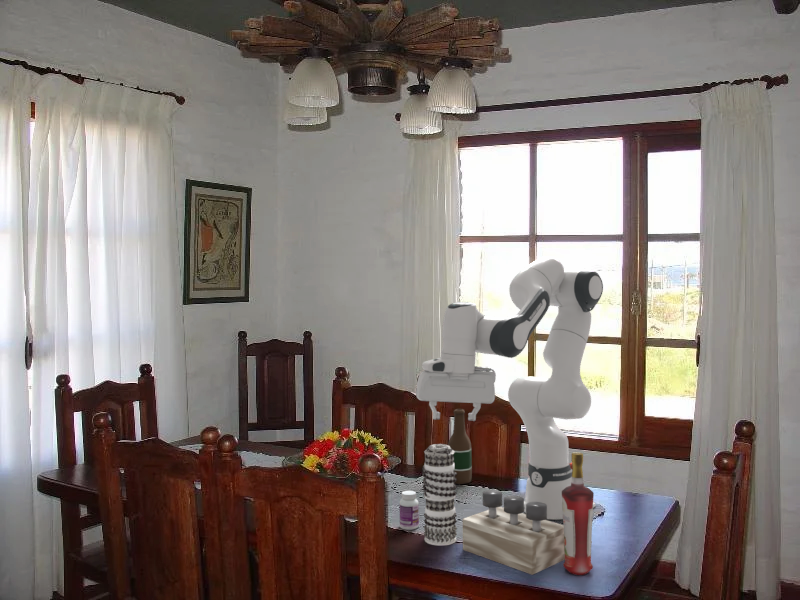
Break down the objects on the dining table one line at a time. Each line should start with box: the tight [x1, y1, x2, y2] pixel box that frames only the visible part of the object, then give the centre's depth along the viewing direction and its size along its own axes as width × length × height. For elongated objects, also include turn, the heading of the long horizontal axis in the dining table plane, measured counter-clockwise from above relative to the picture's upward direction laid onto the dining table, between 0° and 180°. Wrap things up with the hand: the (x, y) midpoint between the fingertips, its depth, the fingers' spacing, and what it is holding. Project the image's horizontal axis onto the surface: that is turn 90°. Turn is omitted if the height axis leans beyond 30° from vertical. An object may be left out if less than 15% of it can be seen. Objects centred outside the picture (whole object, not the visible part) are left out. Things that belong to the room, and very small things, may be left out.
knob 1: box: [482, 489, 503, 519], centre depth 197 cm, size 5×5×8 cm
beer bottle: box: [447, 408, 473, 485], centre depth 256 cm, size 8×8×24 cm
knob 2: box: [503, 495, 525, 525], centre depth 192 cm, size 5×5×8 cm
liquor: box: [562, 451, 595, 576], centre depth 181 cm, size 7×7×28 cm
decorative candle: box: [421, 443, 458, 547], centre depth 203 cm, size 9×9×25 cm
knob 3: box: [525, 502, 548, 532], centre depth 187 cm, size 5×5×8 cm
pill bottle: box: [398, 490, 420, 531], centre depth 213 cm, size 5×5×10 cm
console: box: [461, 506, 565, 576], centre depth 192 cm, size 14×22×8 cm, turn 42°
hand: (454, 419), depth 196 cm, fingers open, 8 cm apart
